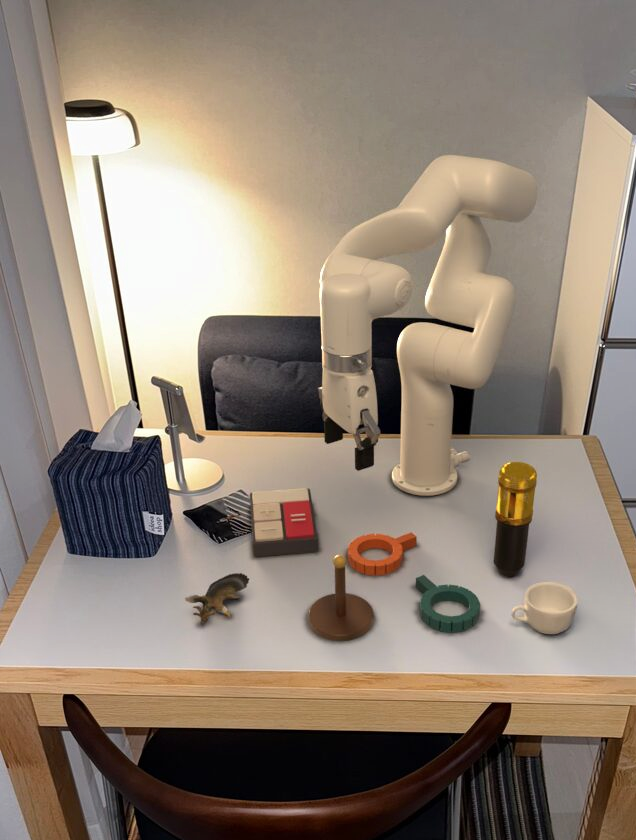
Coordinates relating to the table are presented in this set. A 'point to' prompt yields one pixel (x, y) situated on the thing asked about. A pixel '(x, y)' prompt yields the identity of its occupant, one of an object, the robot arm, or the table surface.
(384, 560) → the orange ring
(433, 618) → the teal ring
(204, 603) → the eagle figurine
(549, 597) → the teacup
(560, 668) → the table surface
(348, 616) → the peg stand
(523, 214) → the robot arm
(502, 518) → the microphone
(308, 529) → the calculator
